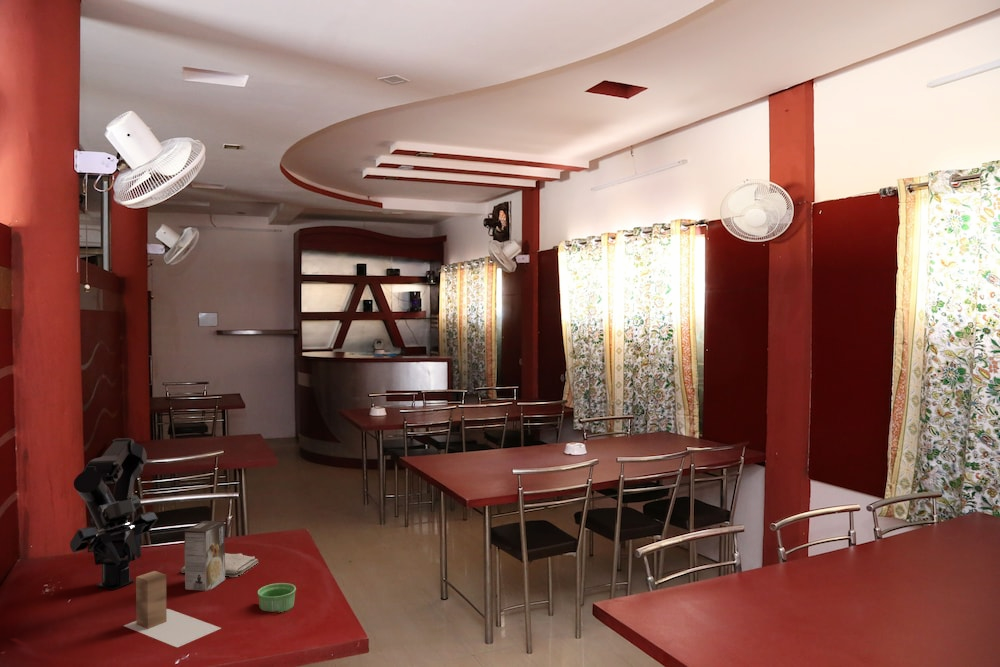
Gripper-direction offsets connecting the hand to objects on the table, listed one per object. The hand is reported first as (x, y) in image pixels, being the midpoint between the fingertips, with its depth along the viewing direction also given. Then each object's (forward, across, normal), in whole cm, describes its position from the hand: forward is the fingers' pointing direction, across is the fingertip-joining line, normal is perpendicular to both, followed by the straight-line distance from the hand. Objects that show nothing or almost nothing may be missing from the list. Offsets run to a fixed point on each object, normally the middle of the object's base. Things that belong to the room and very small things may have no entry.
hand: (129, 560), depth 166 cm
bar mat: (+20, +1, -1) cm, 20 cm away
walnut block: (+15, 0, +3) cm, 16 cm away
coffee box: (+8, +22, +11) cm, 26 cm away
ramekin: (+27, +22, -8) cm, 36 cm away
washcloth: (+3, +32, +17) cm, 37 cm away
